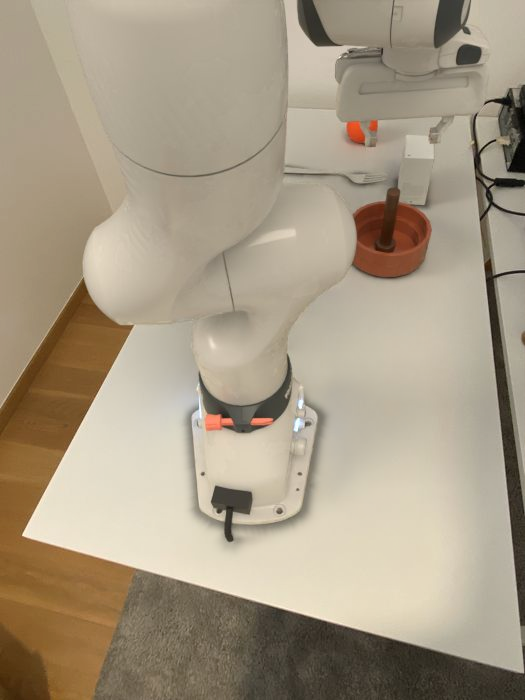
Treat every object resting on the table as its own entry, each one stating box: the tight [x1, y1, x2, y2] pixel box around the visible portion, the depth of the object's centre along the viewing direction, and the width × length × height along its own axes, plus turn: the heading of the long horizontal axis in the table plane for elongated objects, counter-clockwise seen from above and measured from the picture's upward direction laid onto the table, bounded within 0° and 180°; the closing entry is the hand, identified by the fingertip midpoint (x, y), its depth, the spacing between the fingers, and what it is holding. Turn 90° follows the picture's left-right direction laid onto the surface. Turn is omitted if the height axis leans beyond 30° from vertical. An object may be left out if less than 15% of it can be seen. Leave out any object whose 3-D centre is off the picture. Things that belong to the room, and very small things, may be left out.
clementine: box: [346, 120, 379, 144], centre depth 112 cm, size 8×7×7 cm
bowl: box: [352, 200, 433, 278], centre depth 91 cm, size 14×14×6 cm
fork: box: [284, 166, 390, 184], centre depth 107 cm, size 3×24×2 cm, turn 72°
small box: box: [397, 134, 436, 206], centre depth 98 cm, size 8×6×10 cm
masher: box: [375, 186, 401, 253], centre depth 88 cm, size 4×4×12 cm
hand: (401, 143), depth 75 cm, fingers open, 8 cm apart
